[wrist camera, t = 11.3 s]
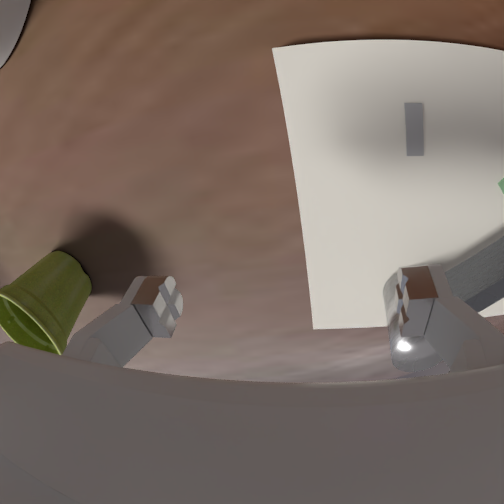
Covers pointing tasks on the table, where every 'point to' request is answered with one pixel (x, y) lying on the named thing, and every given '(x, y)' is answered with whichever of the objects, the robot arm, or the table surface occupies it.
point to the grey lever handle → (463, 286)
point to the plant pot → (45, 303)
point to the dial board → (391, 164)
